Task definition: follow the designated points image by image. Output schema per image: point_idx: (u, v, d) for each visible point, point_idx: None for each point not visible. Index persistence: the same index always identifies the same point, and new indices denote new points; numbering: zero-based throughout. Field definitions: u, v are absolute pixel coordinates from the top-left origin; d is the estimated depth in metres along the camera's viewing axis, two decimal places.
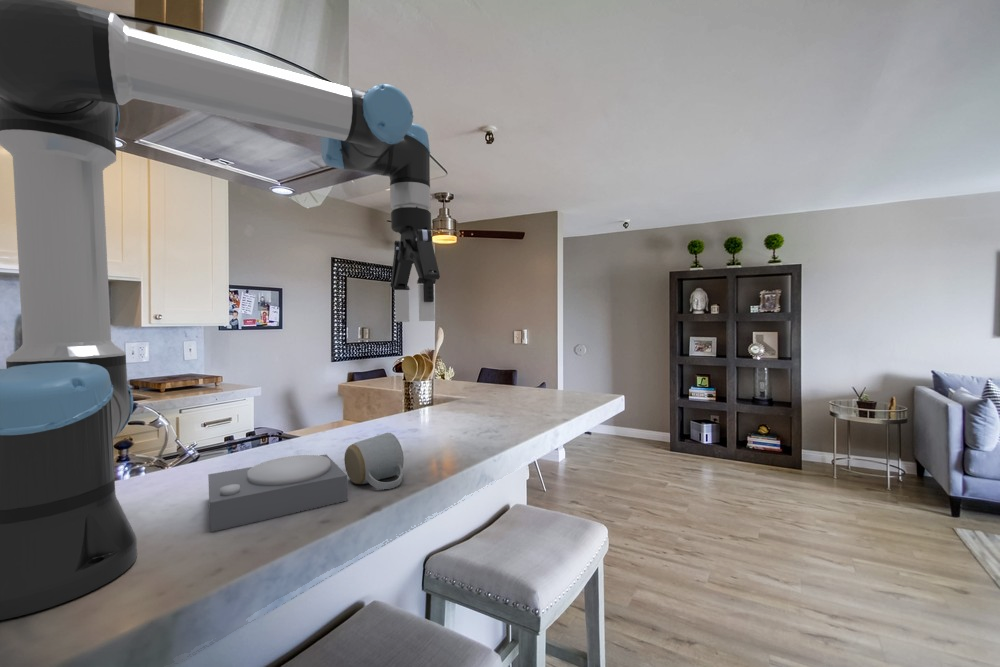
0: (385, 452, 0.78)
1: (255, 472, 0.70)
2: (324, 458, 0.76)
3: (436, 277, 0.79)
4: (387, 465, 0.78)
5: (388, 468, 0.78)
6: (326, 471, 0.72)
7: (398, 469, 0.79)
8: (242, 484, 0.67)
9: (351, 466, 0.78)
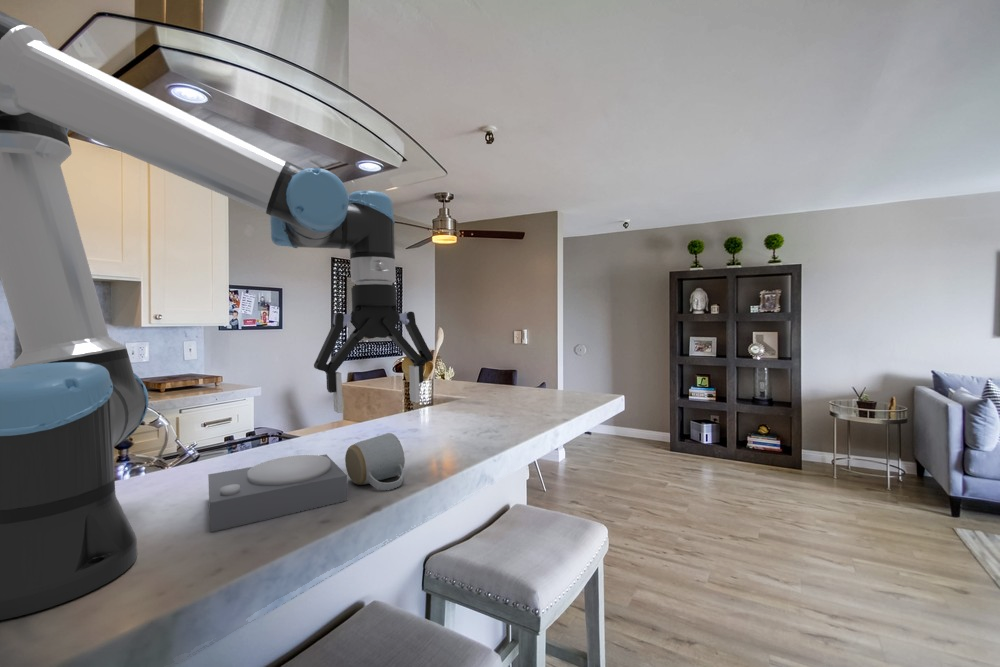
0: (386, 452, 0.78)
1: (255, 472, 0.70)
2: (324, 458, 0.76)
3: (317, 368, 0.73)
4: (388, 465, 0.78)
5: (389, 468, 0.78)
6: (326, 471, 0.72)
7: (399, 469, 0.79)
8: (242, 484, 0.67)
9: (352, 467, 0.77)
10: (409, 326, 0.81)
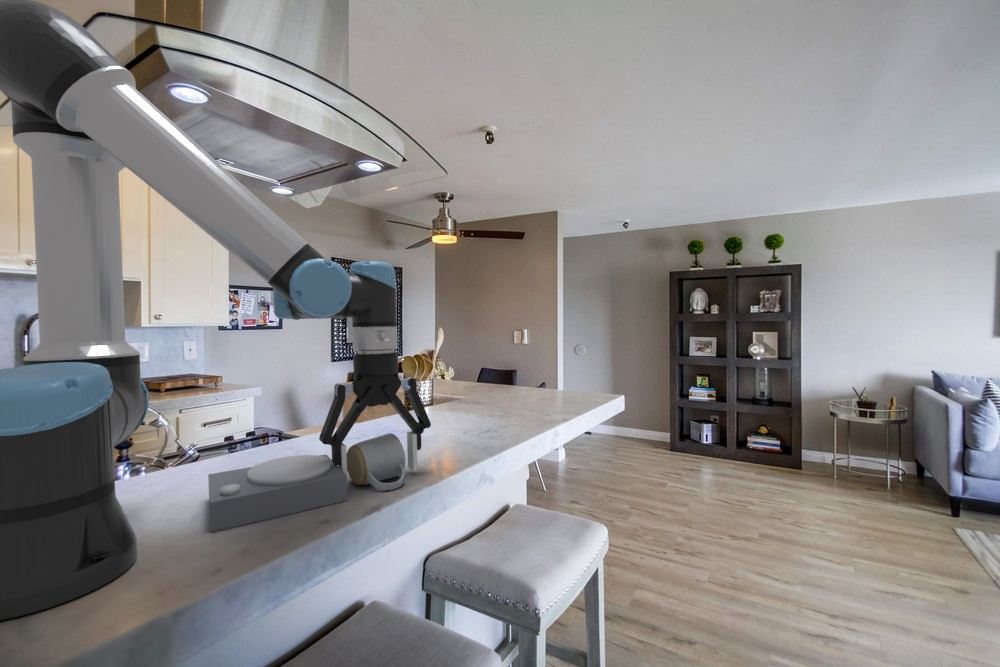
0: (387, 453, 0.78)
1: (255, 472, 0.70)
2: (324, 458, 0.76)
3: (322, 442, 0.73)
4: (389, 466, 0.77)
5: (390, 469, 0.78)
6: (326, 471, 0.72)
7: (400, 470, 0.78)
8: (242, 484, 0.67)
9: (353, 467, 0.77)
10: (410, 392, 0.82)
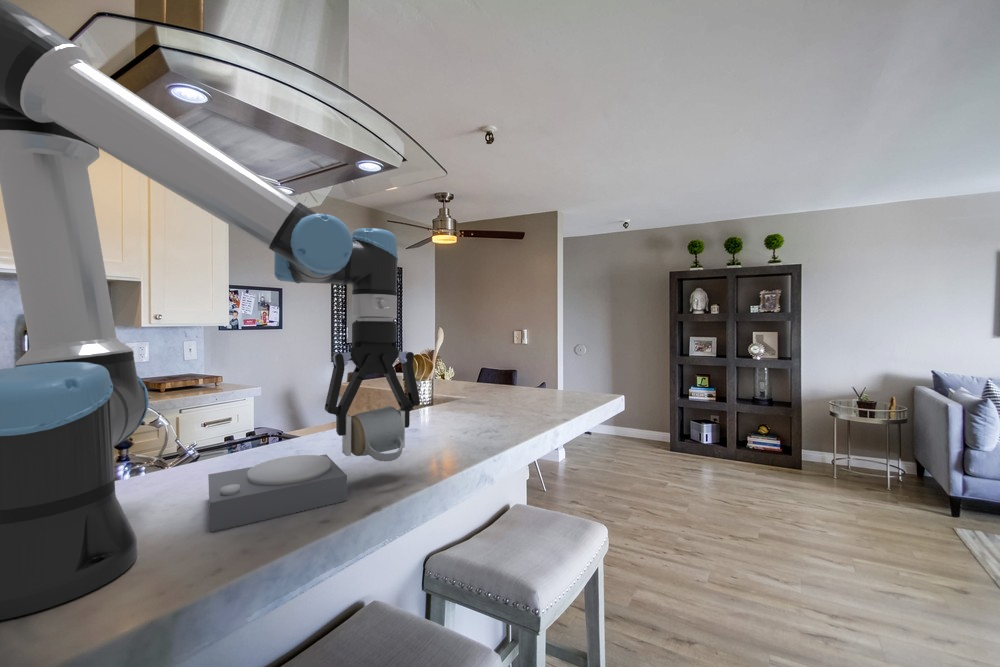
0: (385, 424, 0.77)
1: (255, 472, 0.70)
2: (324, 458, 0.76)
3: (328, 412, 0.74)
4: (387, 437, 0.77)
5: (388, 440, 0.77)
6: (326, 471, 0.72)
7: (398, 442, 0.78)
8: (242, 484, 0.67)
9: (351, 438, 0.77)
10: (405, 366, 0.81)
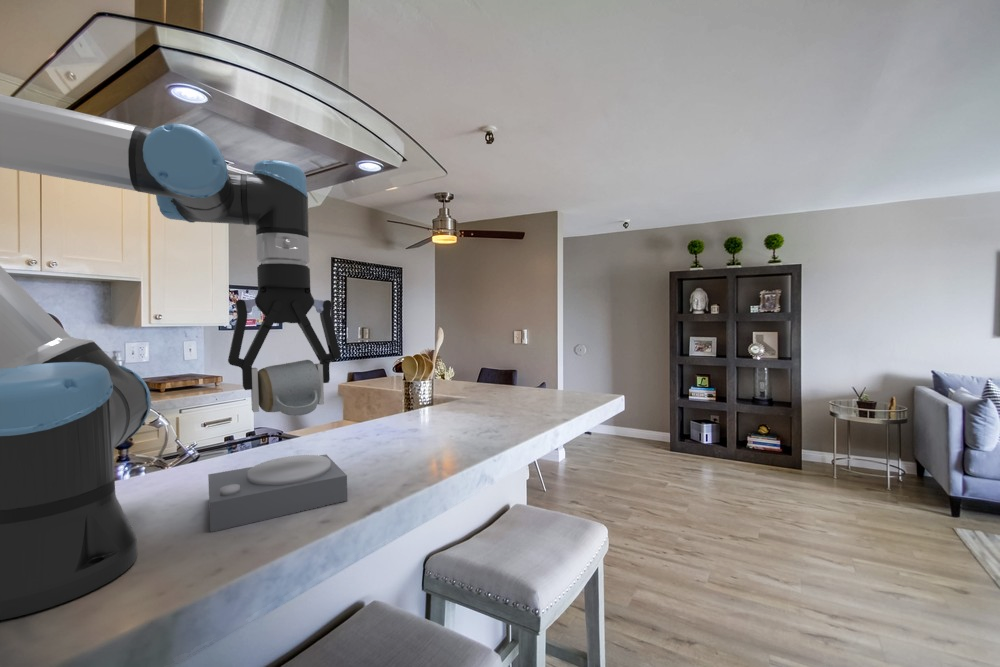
0: (298, 377, 0.70)
1: (255, 472, 0.70)
2: (324, 458, 0.76)
3: (230, 364, 0.67)
4: (300, 391, 0.70)
5: (302, 395, 0.70)
6: (326, 471, 0.72)
7: (314, 396, 0.71)
8: (242, 484, 0.67)
9: (260, 392, 0.70)
10: (322, 315, 0.74)
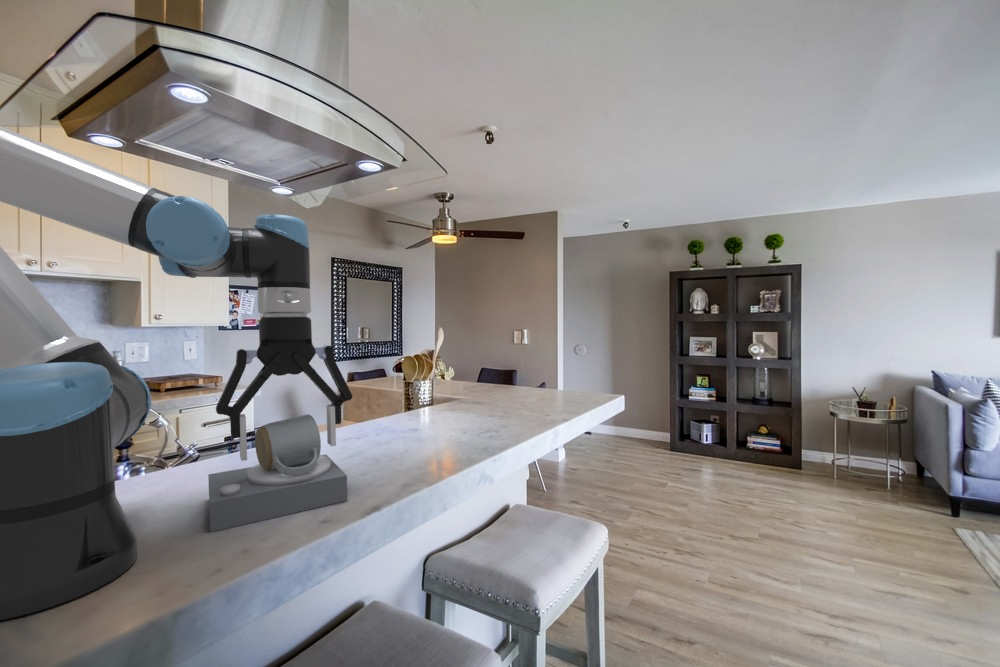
0: (298, 435, 0.70)
1: (255, 472, 0.70)
2: (324, 458, 0.76)
3: (217, 412, 0.66)
4: (300, 449, 0.70)
5: (301, 452, 0.70)
6: (326, 471, 0.72)
7: (313, 454, 0.71)
8: (242, 484, 0.67)
9: (260, 450, 0.70)
10: (326, 361, 0.75)
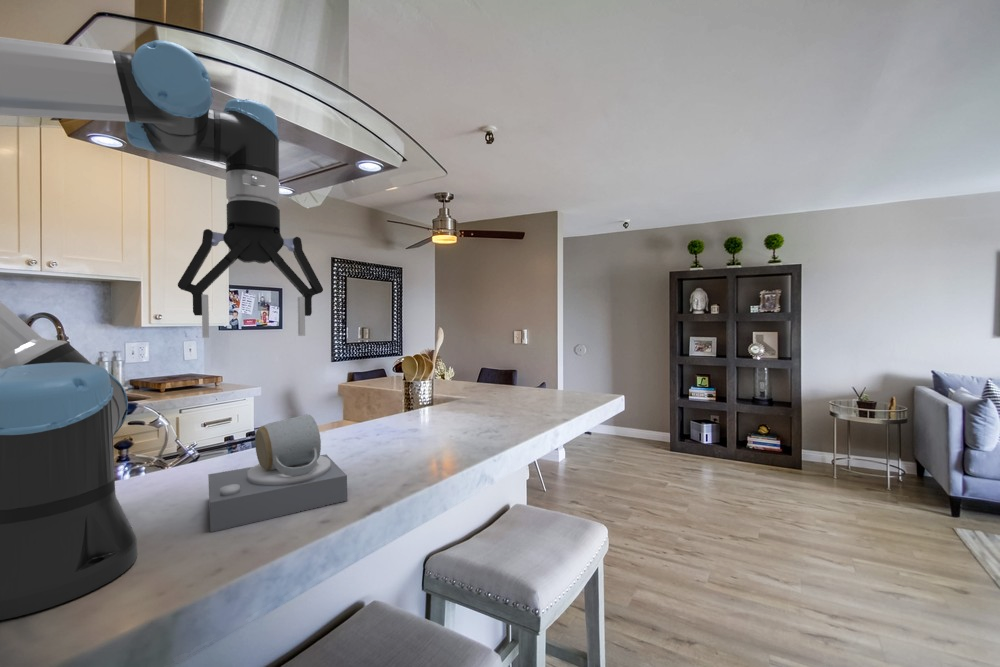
0: (298, 435, 0.70)
1: (255, 472, 0.70)
2: (324, 458, 0.76)
3: None
4: (300, 449, 0.70)
5: (301, 452, 0.70)
6: (326, 471, 0.72)
7: (313, 454, 0.71)
8: (242, 484, 0.67)
9: (260, 450, 0.70)
10: (295, 253, 0.75)
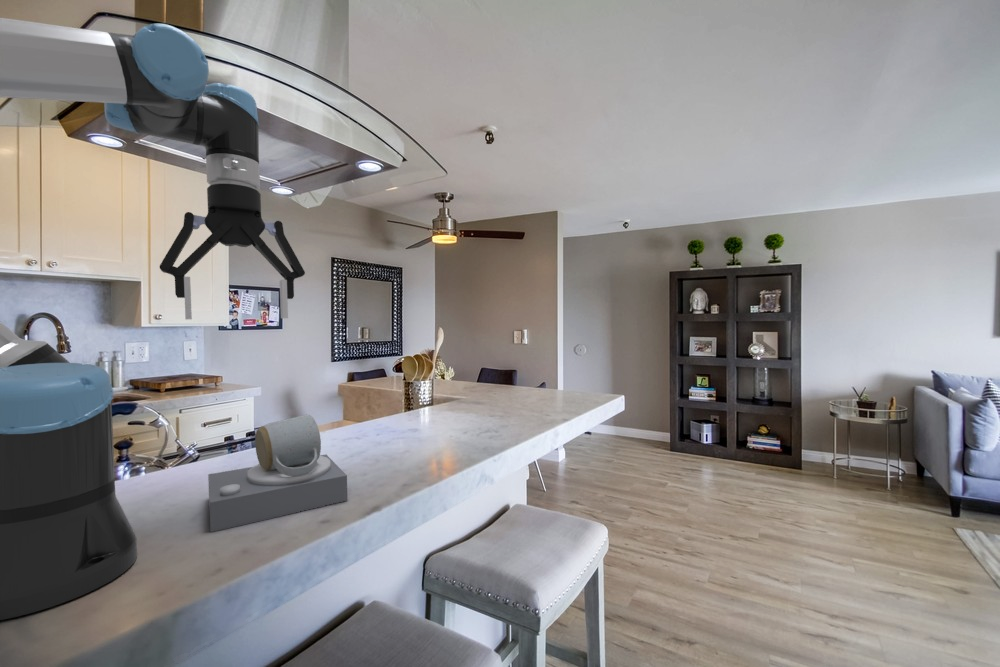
0: (298, 435, 0.70)
1: (255, 472, 0.70)
2: (324, 458, 0.76)
3: None
4: (300, 449, 0.70)
5: (301, 453, 0.70)
6: (326, 471, 0.72)
7: (313, 454, 0.71)
8: (242, 484, 0.67)
9: (260, 450, 0.70)
10: (276, 236, 0.77)
